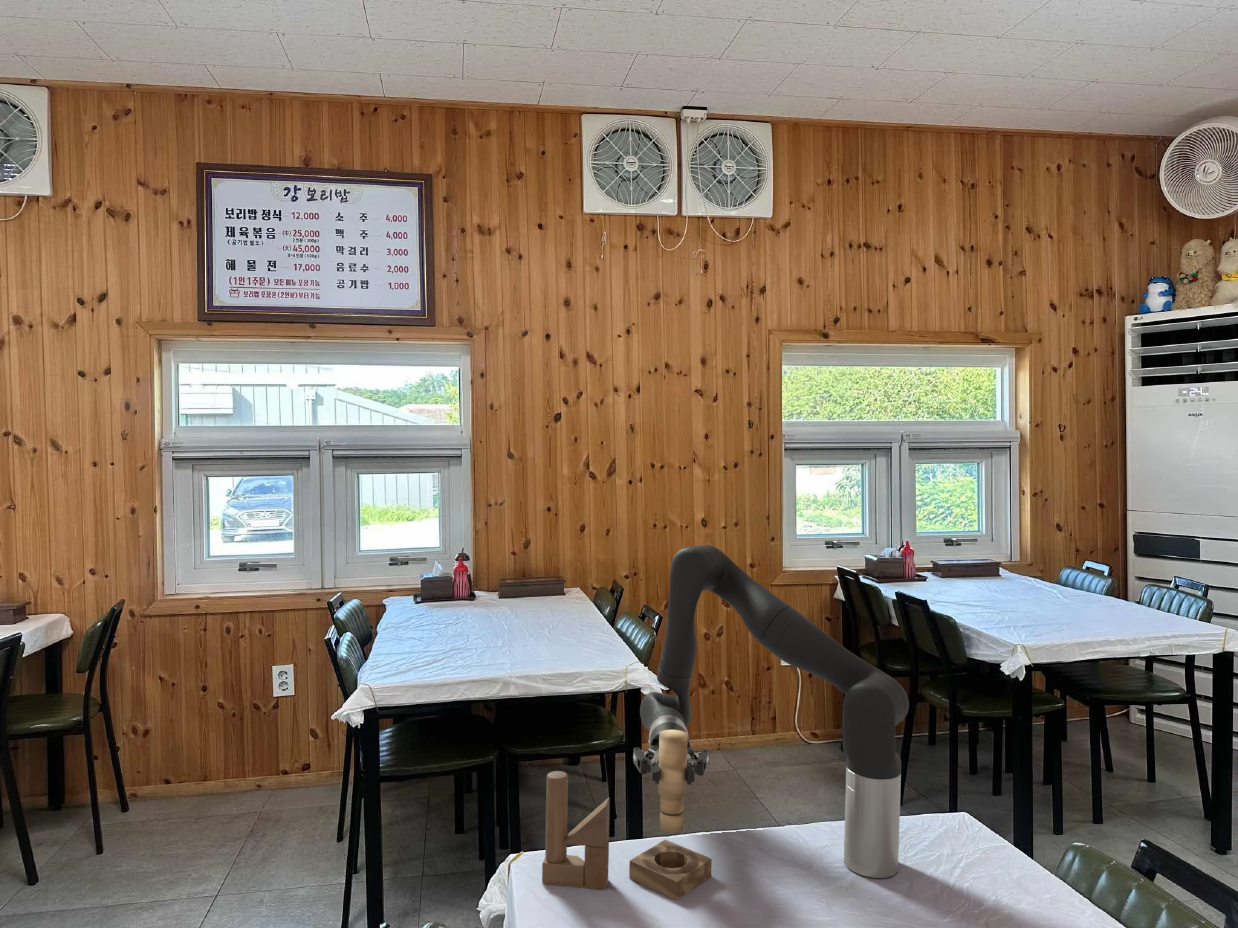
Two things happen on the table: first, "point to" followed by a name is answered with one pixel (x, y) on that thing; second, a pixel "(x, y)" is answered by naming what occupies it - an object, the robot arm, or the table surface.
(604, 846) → the wooden block
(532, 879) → the table surface
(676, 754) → the oak leg
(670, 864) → the square wooden ring
